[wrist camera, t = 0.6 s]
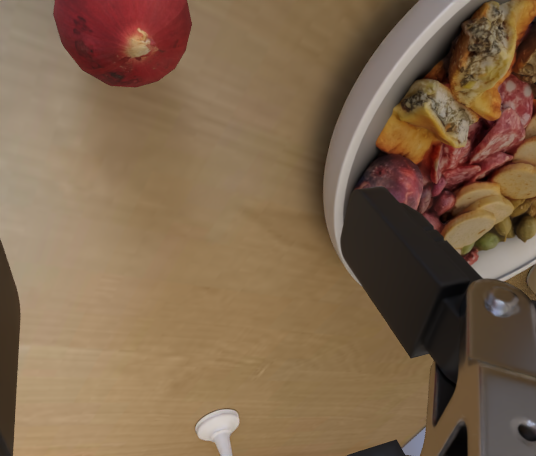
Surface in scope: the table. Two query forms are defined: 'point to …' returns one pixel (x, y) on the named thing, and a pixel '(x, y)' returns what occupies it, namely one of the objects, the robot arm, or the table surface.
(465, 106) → the bowl
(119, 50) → the onion
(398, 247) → the robot arm
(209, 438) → the chess piece
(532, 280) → the coffee cup
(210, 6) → the table surface
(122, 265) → the table surface
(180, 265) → the table surface
